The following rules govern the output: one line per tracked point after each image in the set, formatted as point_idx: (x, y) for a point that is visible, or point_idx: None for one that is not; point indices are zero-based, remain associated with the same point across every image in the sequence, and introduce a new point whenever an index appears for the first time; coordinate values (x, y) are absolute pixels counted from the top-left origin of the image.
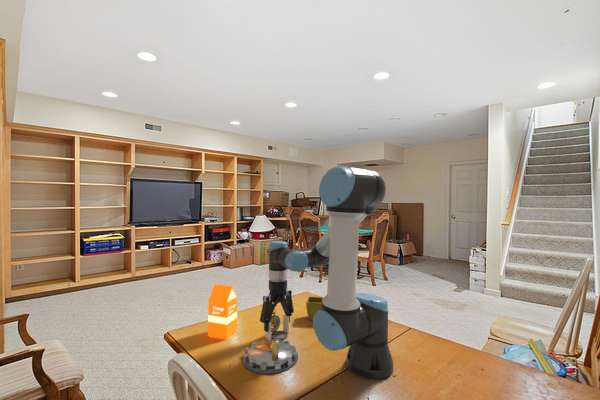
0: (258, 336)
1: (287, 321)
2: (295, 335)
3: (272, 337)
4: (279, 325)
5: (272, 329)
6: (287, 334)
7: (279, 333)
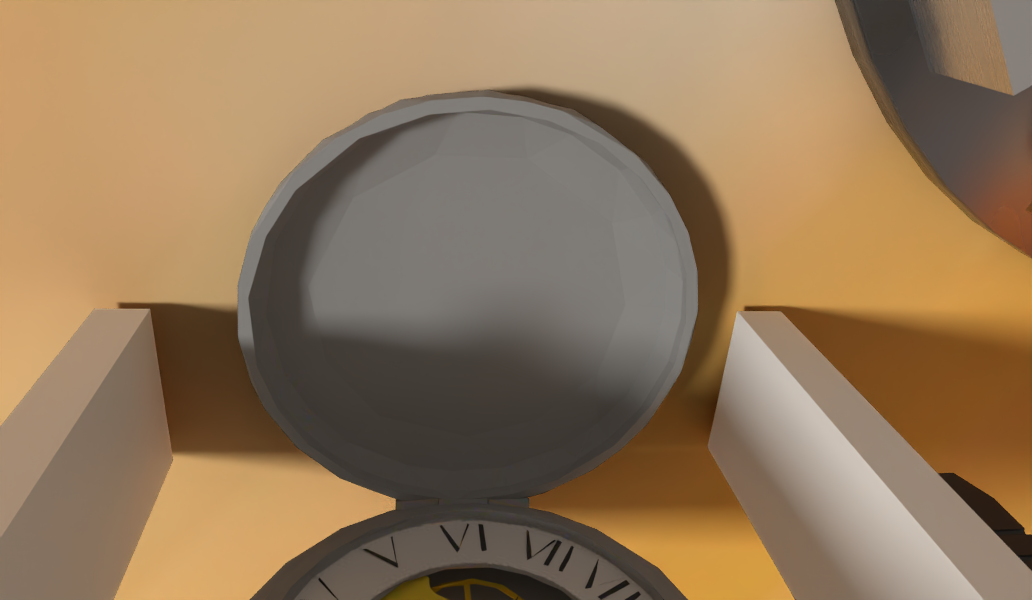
0: (739, 576)
1: (9, 540)
2: (45, 23)
3: (676, 346)
4: (276, 589)
5: (536, 556)
6: (310, 160)
7: (362, 404)
